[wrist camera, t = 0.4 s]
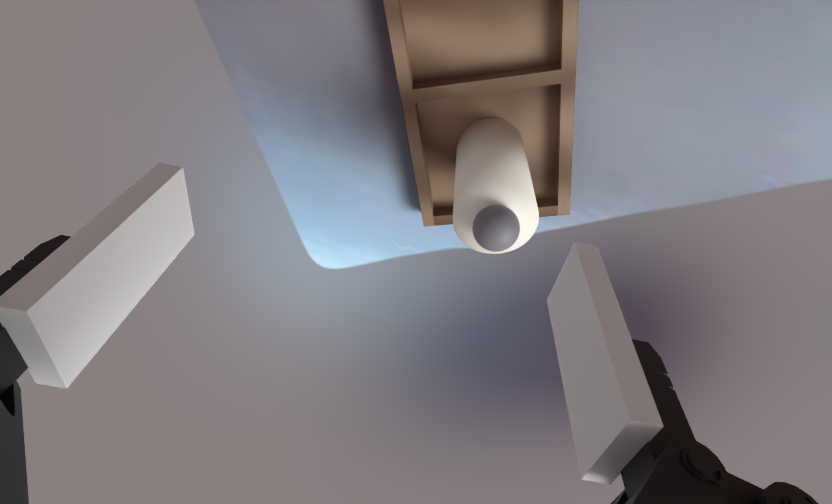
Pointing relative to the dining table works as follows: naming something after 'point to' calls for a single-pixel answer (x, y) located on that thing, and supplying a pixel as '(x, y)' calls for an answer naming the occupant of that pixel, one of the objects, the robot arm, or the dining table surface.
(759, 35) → the dining table surface
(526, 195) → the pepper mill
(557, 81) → the tray
